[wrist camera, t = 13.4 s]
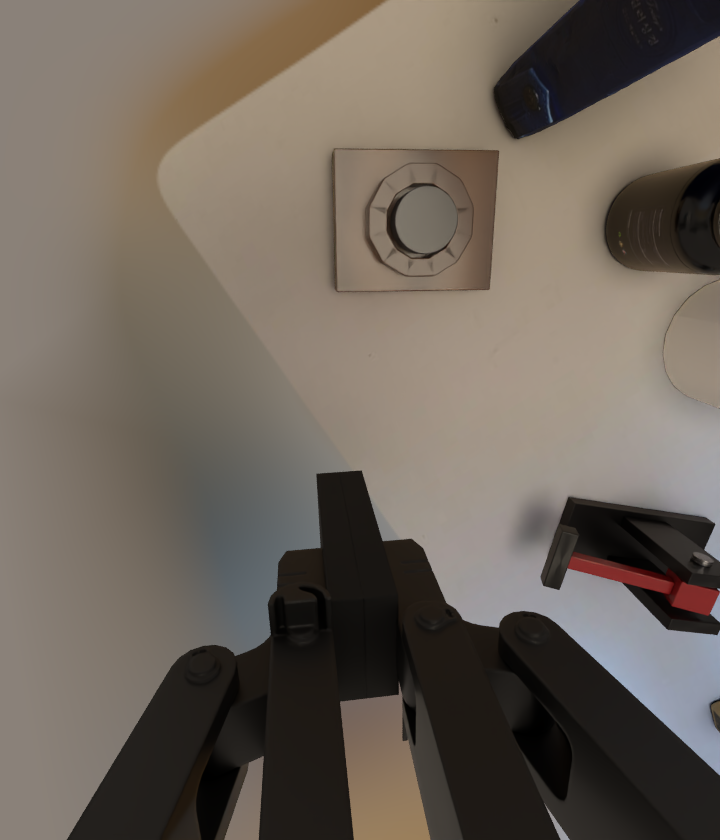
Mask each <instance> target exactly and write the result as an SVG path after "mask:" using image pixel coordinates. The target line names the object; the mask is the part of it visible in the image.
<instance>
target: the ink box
mask: <svg viewBox="0 0 720 840" xmlns="http://www.w3.org/2000/svg"><path fill="white" fill-rule="evenodd" d="M711 710H712V714H713V718H714V723H715V727H716V728H717V730H718V731H719V732H720V701H718V702H716V703H713V704H712V705H711Z"/></svg>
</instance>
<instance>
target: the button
mask: <svg viewBox="0 0 720 840" xmlns="http://www.w3.org/2000/svg"><path fill="white" fill-rule="evenodd" d="M457 222H458V215H457V209H456V206H455V204H454V202H453V200H452V198H451V197H450V196H449V195H448V194H447V193H446V192H445V191H444V190H442V189H440V188H438V187H435V186H428V185H426V186H420V187H417V188H414V189H412V190H411V191H409V192H407V193H405V194H404V195H403V196H402V197H401V198H400V199H399V200H398V201H397V203H396V204H395V206H394V208H393V211H392V214H391V230H392V234H393V236H394V238H395V240H396V242H397V243H398V244H399V245H400V246H401V247H402V248H403V249H405V250H407V251H408V252H411V253H415V254H431V253H434V252H437V251H439V250H441V249H442V248H444V247H445V246H446V245H447V244H448V243H449V242H450V241H451V239H452V238H453V236H454V234H455V231H456V228H457Z"/></svg>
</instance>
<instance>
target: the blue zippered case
mask: <svg viewBox="0 0 720 840" xmlns="http://www.w3.org/2000/svg"><path fill="white" fill-rule="evenodd" d="M719 36H720V0H579V1H578V2H577V3H576V4H575V5H574V6H573V7H572V8H571V9H570V10H569V11H568V12H567V13H566V14H565V15H563V16H562V17H561V18H560V19H559V20H558V21H557V22H556V23H555V24H554V25H553V26H552V27H551V28H550V29H549V30H548V31H547V32H546V33H545V34H544V35H542V36H541V37H540V38H539V39H538V40H537V41H536V42H535V43H534V44H533V45H532V46H531V47H530V48H529V49H528V50H527V51H526V52H525V53H524V54H523V55H522V56H520V57H519V58H518V59H517V60H516V61H515V62H514V63H513V64H512V65H511V67H510V68H509V69H508V70H507V72H506V73H505V74H504V75H503V76H502V77H501V78H500V80H499V81H498V83H497V84H496V86H495V87H494V94H495V100H496V103H497V106H498V108H499V110H500V113H501V115H502V117H503V118H504V121H505V124H506V127H507V128H508V129H509V130H510V131H511V133H512V135H513V136H514V138H517V139H520V138H522V137H525V136H529V135H532V134H535V133H537V132H540V131H542V130H544V129H546V128H548V127H550V126H552V125H555V124H557V123H558V122H560V121H562V120H564V119H566V118H569V117H570V116H572V115H574V114H576V113H578V112H580V111H581V110H583V109H585V108H587V107H589V106H591V105H593V104H594V103H596V102H598V101H600V100H602V99H604V98H606V97H608V96H610V95H612V94H614V93H616V92H618V91H619V90H621V89H623V88H625V87H627V86H629V85H630V84H632V83H634V82H636V81H638V80H640V79H642V78H643V77H645V76H647V75H648V74H650V73H653V72H654V71H656V70H658V69H660V68H661V67H663V66H665V65H667V64H669V63H671V62H673V61H675V60H677V59H679V58H681V57H683V56H684V55H686V54H688V53H690V52H692V51H693V50H695V49H697V48H699V47H700V46H702V45H704V44H706V43H708V42H709V41H711V40H713V39H715V38H717V37H719Z"/></svg>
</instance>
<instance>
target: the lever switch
mask: <svg viewBox="0 0 720 840" xmlns="http://www.w3.org/2000/svg"><path fill="white" fill-rule="evenodd" d="M560 524H561V525H565V526H569V527H573V528H576V530H577V532H578V534H579V538H578V540H577V543H576V546H575V549H574V551H573V552H577V553H580V554H584V555H588V556H592V557H596V558H600V559H604V560H608V561H612V562H616V563H620V564H624V565H627V566H631V567H635V568H639V569H643V570H647V571H651V572H655V573H659V574H663V575H665V574H666V572H667V570H668V568H669V569H670V570H671V571H672V572H674V573H675V574H676V575H677V576H678V577H679V578H680V579H682V580H683V581H684V582H685V583H686V584H688V585H695V586H703V587H711V588H719V589H720V562H719V561H718V560H717V559H715V558H714V557H713V556H711V555H710V554H709V553H707V552H706V551H705V550H704V549H705V546H706V544H707V542H708V540H709V537H710V535H711V533H712V531H713V528H714V526H715V523H713V522H712V521H710V520H708V519H707V518H704V517H697V516H690V515H684V514H677V513H670V512H664V511H657V510H650V509H643V508H637V507H630V506H623V505H617V504H610V503H603V502H596V501H590V500H583V499H576V498H570V497H569V498H568V501H567V504H566V507H565V510H564V512H563V515H562V518H561V521H560ZM622 583H623V582H622ZM623 584H624V585H625V586H626V587H627V588H628V589H629V590H630V591H631V592H632V593H633V594H634V596H635V597H636V598H637V599H638V600H639V601H640V602H641V603H642V604H643V605H644V606H645V607H646V608H647V609H648V610H649V611H650V612H651V613H652V614H653V615H654V616H655V617H656V618H657V619H658V620H659V621H660V623H661V624H662V625H663V626H664V627H665V628H666V629H668V630H676V631H685V632H694V633H704V634H713V635H717V634H718V633H719V631H720V622H719V621H717V620H716V619H715V618H714V617H713V616H712V615H711V614H709V616H707V615H703V614H700V613H696V612H692V611H688V610H684V609H680V608H677V607H673V606H671V605H670V603H669V602H668V600H667V599H666V598H665V596H664V595H663V593H661V592H657V591H654V590H650V589H646V588H642V587H638V586H634V585H630V584H627V583H623Z"/></svg>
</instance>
